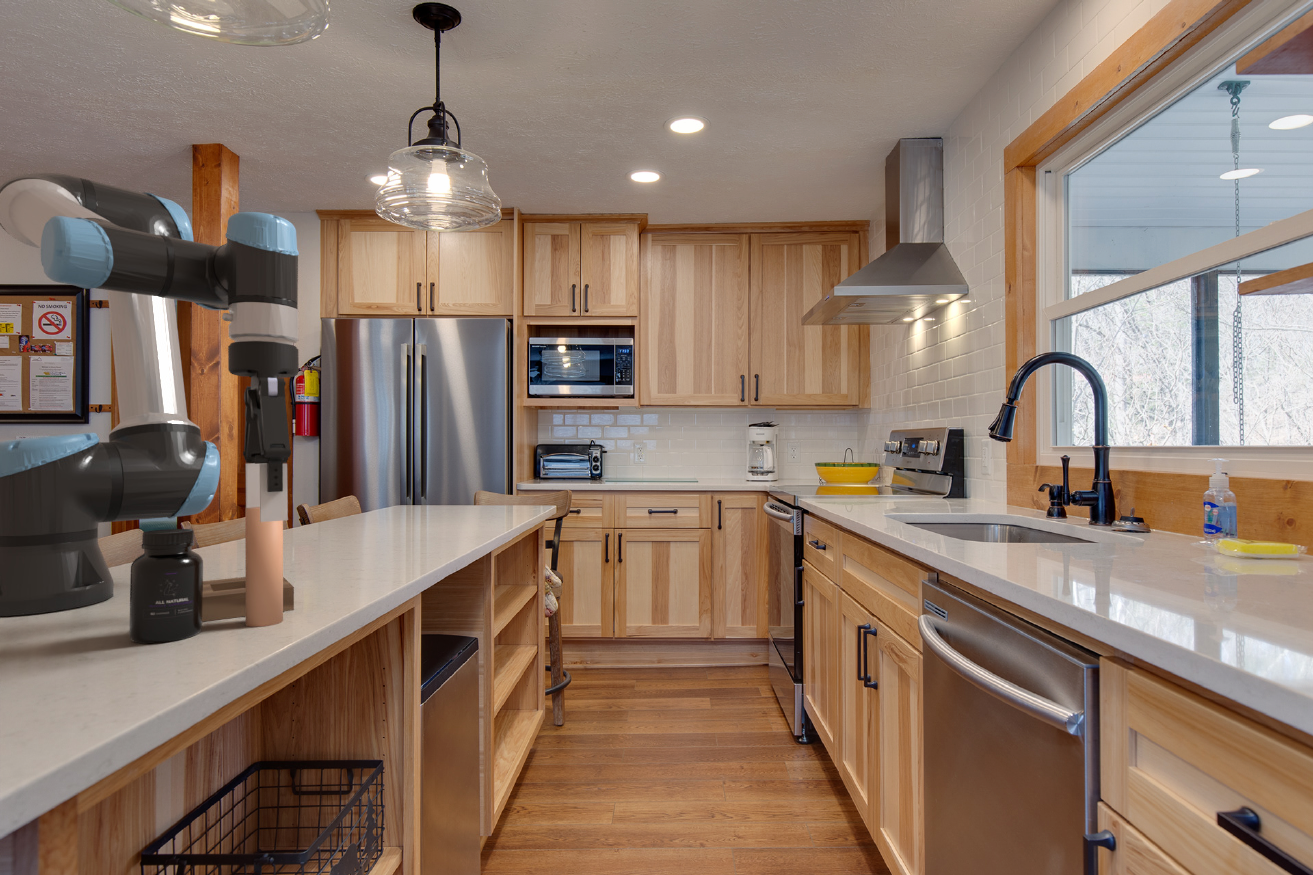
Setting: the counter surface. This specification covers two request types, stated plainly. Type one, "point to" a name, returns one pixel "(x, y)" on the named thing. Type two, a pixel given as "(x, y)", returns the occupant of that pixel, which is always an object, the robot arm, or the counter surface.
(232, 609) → the socket block
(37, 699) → the counter surface
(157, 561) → the supplement bottle
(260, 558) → the dowel
